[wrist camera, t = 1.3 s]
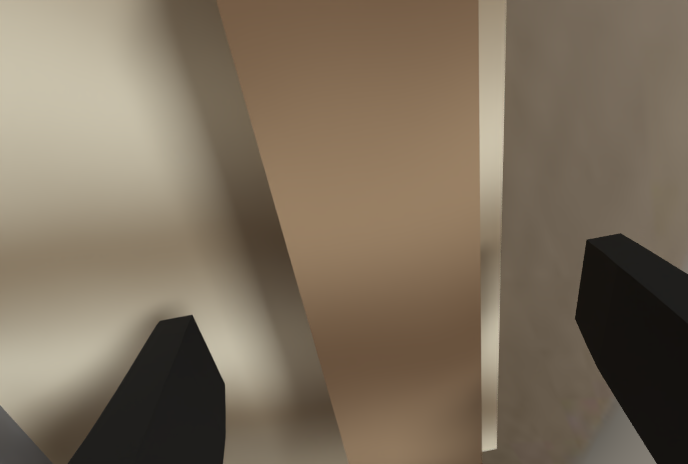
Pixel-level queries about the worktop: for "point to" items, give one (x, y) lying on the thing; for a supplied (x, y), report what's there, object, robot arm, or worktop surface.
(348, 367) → the walnut bar
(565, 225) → the worktop surface
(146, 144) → the board
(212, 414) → the robot arm
